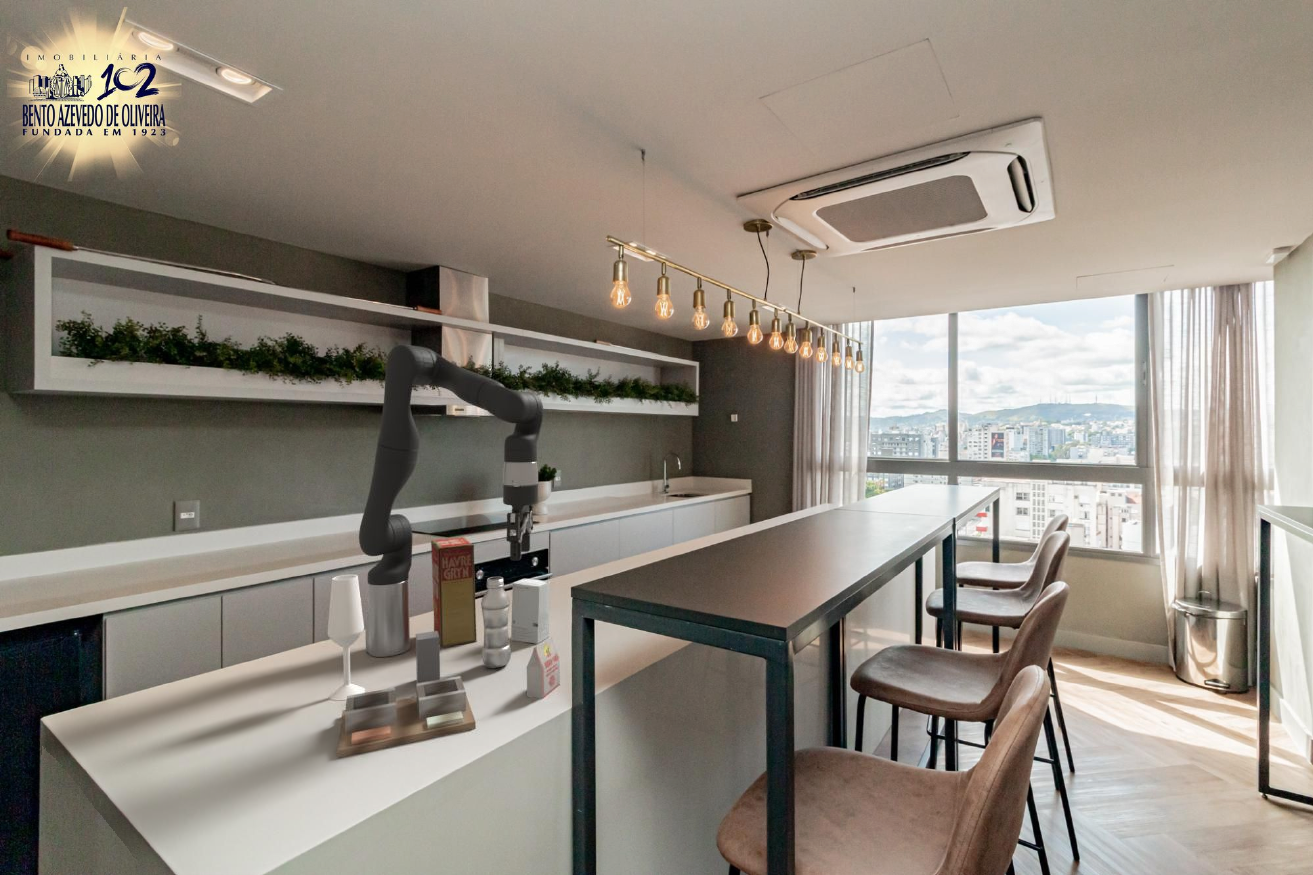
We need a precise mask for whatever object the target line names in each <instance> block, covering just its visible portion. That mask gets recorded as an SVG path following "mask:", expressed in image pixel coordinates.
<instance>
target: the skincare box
mask: <svg viewBox="0 0 1313 875" xmlns="http://www.w3.org/2000/svg"><path fill="white" fill-rule="evenodd" d="M511 593H512V594H511V595H512V596H511V598H512V599H511V628H510V629H511V631H510V635H511V636H510V639H511V641H512V642H513V641H514V642H520V643H521V642H522V643H531V644H536V645H539V644H540V643H542V642H544V641H545V640H547V639H548V638H550V605H551V604H550V603H551V601H550V600H551V581H547V580H540V579H529V578H522V579H519V580H517V581H514V582H512V591H511Z"/></svg>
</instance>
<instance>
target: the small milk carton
mask: <svg viewBox="0 0 1313 875" xmlns="http://www.w3.org/2000/svg"><path fill="white" fill-rule="evenodd" d="M560 675H561V672H560V655H559V653H558V650H557V648H556V646H555V642H554V638H553V636H552V637H551V636H549V637H548V638H547V639H545V640H543V641H542V642H540V643H538V644H536V646H535V647H533V650H532V653H531V657H530V659H529V660H528V664H527V665H526V696H527V697H532V698H538V699H544V698H546V697H547V696H549V694H551V693H552V692H553V691H555V689H556V688H558V687H559V686H561V684H560V683H561V681H560V680H561V676H560Z"/></svg>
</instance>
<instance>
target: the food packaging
mask: <svg viewBox="0 0 1313 875" xmlns="http://www.w3.org/2000/svg"><path fill="white" fill-rule="evenodd" d="M430 546H431V571H432V573H431V574H432V580H431V581H432V600H433V601H432V602H433V604H432V605H433V631H438V634H439V648H441V649H443V648H447V647H448V646H449V647H453V646H454V645H455V646H460V645H465V644H470V643H475V642H477V620H476V619H477V616H476V580H475V578H476V577H475V545H474V544H473V543H471V542H470V541H469V540H468V539H466V538H465V537H464V536H463V537H452V538H443V539H442V538H441V539H433V540H431V541H430ZM442 647H443V648H442Z"/></svg>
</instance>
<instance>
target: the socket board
mask: <svg viewBox="0 0 1313 875" xmlns="http://www.w3.org/2000/svg"><path fill="white" fill-rule="evenodd" d="M415 685H416V689H415V690H416V691H415V692H416V695H415V696H414V697H413V696H412V697H408V698H401V699H397V696H396V687H391V688H390V687H389V688H385V689H378V690H374V691H369V692H364V693H361V694H356V695H350V696H347V700H345V709H343V710H341V711H342V712H341V720H340V728H339V729H340V731H339V736H338V746H337V747H338V748H337V758H338V759H339V758H343V757H348V756H354V755H358V754H364V753H366V752H367V753H368V752H371V751H377V750H382V749H385V748H391V747H395V746H400V745H404V744H405V745H406V744H408V743H414V742H418V741H424V740H427V739H432V738H437V737H443V736H447V735H450V734H455V733H460V732H465V731H471V730H474V729H476V720H475V716H474V714H473V710H472V708H471V705H470V702H469V700H468V697H467V692H466V688H465V686H464V683H463V680H462V677H461V675H459V676H452V677H448V678H440V680H434V681H429V682H423V683H418V684H417V683H415Z"/></svg>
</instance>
